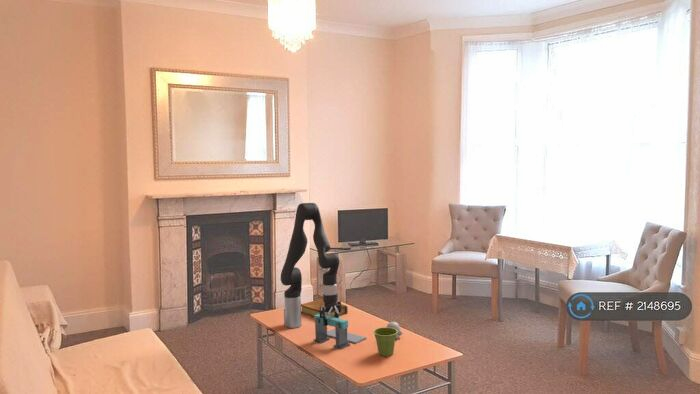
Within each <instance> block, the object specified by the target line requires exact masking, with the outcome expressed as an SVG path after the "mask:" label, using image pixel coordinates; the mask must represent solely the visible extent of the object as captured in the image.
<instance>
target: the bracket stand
mask: <svg viewBox="0 0 700 394" xmlns="http://www.w3.org/2000/svg"><path fill="white" fill-rule="evenodd" d="M314 325H315V326H314V328H315V335H314V336H315V339H313V343H318V344H319V345H320V344H323V343H325V342H327V341H330V337H328V336H327V332H328V326H324V325H323V324H321V323H320V319H318V318H315V322H314ZM334 329H335V331H336V338H335V344H333V348H335V349H338V350H343V349H345V348H347V347H350V346H351V342H347V333H348V328H345V329H341V328H340V324H339V323H335V327H334Z"/></svg>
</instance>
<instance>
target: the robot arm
mask: <svg viewBox="0 0 700 394" xmlns="http://www.w3.org/2000/svg"><path fill="white" fill-rule="evenodd" d="M305 221H312V222H313V224H314V230H313V233H312V234H313V235H312V239H313V243H314V246H315V249H316V250H317V257H318V258H317V259H318V265H319V267H321V269H323V270H324V269H329V270H327V271H326V272H324V273H323V274H322V299H323V302H324V306H323V307H322V306H320V318H323V325H324V326H327V327H328V326H329V325H328V321H327V317H328V315H329V314H330V313H331V312H334V313H335V314H334V317H335V318H339V319H340V316H339V313H340V312H342V310H341V304H342V302H341V301H340V300H339V299H338V294H339V293H338V285H337V277H338V271H339V267H340V257H339V255H338V254H336V253H328V252H329V251H330V250H331V246H330V245H331V244H330V243H329V240H328V238H327V234H326V233H325V229H324V224H323V220H322V217H321V211H320V208H319V207H318V204H317V203H315V202H301V203H299V204H298V205H297V208H296V212H295V219H294V226H293V231H292V235H291V238H290V242H289V245H288V251H287V254H286V258H285V262H284V264H283V266H282V269H281V272H280V282H281V284H282V286H285V287H286V286H289V287H288V288H287V289H286V290H285V291H284V293H283V295H284V297H283V298H284V309H283V325H284V326H285V327H286V328H289V329H296V328H300V327H301V326H302V324H303V323H302V313H301V312H302V306H301V304H302V299H301V297H302V295H301V294H302V289H303V288H302V286H303V285H302V281H303V277H302V271H301V270H300V268H298V267H295V266H296V264H297V263H298V262H299V261H300V260H301V258H302V257H303V256H304V255H305V252H306V251H307V250H306V249H307V245H308V237H307V235H306V232H305V230H304V225H305ZM327 253H328V254H327ZM326 312H328V313H326ZM322 314H323V316H322ZM325 315H326V316H325Z"/></svg>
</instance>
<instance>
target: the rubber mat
mask: <svg viewBox="0 0 700 394" xmlns="http://www.w3.org/2000/svg"><path fill="white" fill-rule="evenodd" d="M327 337H328V338H333V339H336V331H335V328H334V329H331V330H329V331H328V330H327ZM364 340H365V341H366V340H367V337H366V336H364V335H363V336H362V335H359V334H354V333H351V332H347V343H350V344H355V345H356V344H358V343H361V342H363V341H364Z"/></svg>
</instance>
